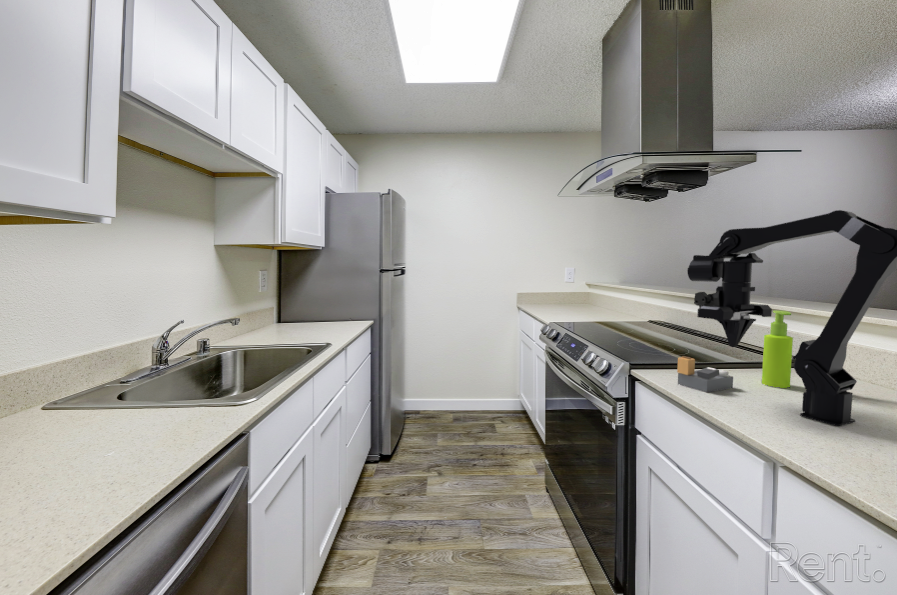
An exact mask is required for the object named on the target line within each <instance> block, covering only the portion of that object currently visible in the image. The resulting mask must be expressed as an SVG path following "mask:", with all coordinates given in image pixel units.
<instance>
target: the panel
mask: <svg viewBox="0 0 897 595" xmlns="http://www.w3.org/2000/svg"><path fill="white" fill-rule="evenodd" d="M699 370H700V369H698V370H695V371H694V374H692V375H686V374H682V373H678V372H677V385H679V384H680V386H684V387H685V388H686V387H687V388H691V389H694V390H697V391H700V392H704V393H709V392H711V393H712V392H717V391H721V390H728V389H733V388H734V376H732V375H729V371H727V370H722V369H718V370H719V375H718V376H716V377H713V378H711V379H706V378H702V377H698V376H697V371H699Z"/></svg>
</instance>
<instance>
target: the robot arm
mask: <svg viewBox="0 0 897 595" xmlns="http://www.w3.org/2000/svg"><path fill="white" fill-rule="evenodd" d="M831 233H837V234H839V235H840V236H842V237H844V238H845V239H847V240H848V241H851V242H852V243H853V244H856V245H857V246H859V247H858V252H857V254H856V257H855V258H856V259H855V261H856V263H855V269H854V270H855V271H854V274H853V276H852V277H851V279H850V280H849V283H848V284H847V287H846V288H845V290H844V292H843V294H842V295H841V298H840V299H839V301H838V302H837V304H836V306H835V308H834V310H833V312H832V313H831V314H830V316H829V318H828V320H827V322H826V324H825V325H824V327H823V329H822V331H821V333H820V335H819V336H817V338H815V339H810V340H806V341H805V340H804V341H801V344H800V345H799V348H798V351H797V353H796V354H795V355H794V356H792V360H794V361H793V369H794V371H795V373H796V374H797V375H798V377H799V378H801V381H802V383H803V384H802V385H803V386H804V389H805V392H803V393H802V405H801V406H802V408H801V411H802V412H800V413H799V416H800V417H802V418H803V417H804V418H806V419H810V420H814V421H817V422H822V423H825V424H828V425H831V426H834V427H836V426H837V427H842V426H845V425H849V424H853V423H855V422H856V419H855V418H852V408H853V407H852V406H853V405H852V404H853V392H850V391H852V390H853V388H854V387H855V386H856V385H857V384H856V383H857V381H858V380H856V378H854V377H853V376H852V375H851V374H850V373H849V372H848V371H847V370H846V369H845V368H844V364H845V361H846V359H847V348H848V347H847V346H848V343H849V342H850V339H851V338H852V336H853V335H854V333H855V332H856V330H857V328H858V327H859V325H860V323H861V322H862V320H863V318H864V316H865V315H866V313H867V311H868V309H869V307H870V306H871V305H872V303H873V302H874V299H875V298H876V297H877V295H878V293H879V291H880V290H881V288H882V286H883V284H884V283H885V281H886V280H887V279H888V278H889V277H890V276H891V275H893V273H894V272H896V271H897V228H893V227H885V226H882V225H879V224H878V223H876V222H873V221H870V220H867V219H865V218H863V217H860V216H858V215H856V214H855V213H854V212H853V211H848V210H847V211H846V210H843V209H842V210H841V209H839V210H833V211H831V212H828V213H824V214H820V215H816V216H811V217H807V218H806V217H805V218H801V219H797V220H793V221H789V222H783V223H779V224H776V225H775V224H774V225H770V226H769V225H768V226H765V227H748V228H747V227H745V228H732V229H728V230H726V231H724V232H723V233H722V235H721V236H720V238H719V242H718V243H717V245H716V246H715V247H714V248H713V250H711V252H710V253H709V254H708V255H702V254H700V255H699V254H694V255H693V257H692V258H693V259H692V260H691V261H690V263H689V265H688V267H687V276H688V279H689V280H690V281H691V282H707V283H709V282H712V283H713V282H714V283H716V282H718V281H719V282H720V279H721V286H719V285H718V286H716V288H715V292H713V293H707V292H705V291H699V292H696V293H694V299H693V302H694V303H693V304H694V305H696V306H697V307H698V308H697V314H696V315H697V318H701V319H710V320H713V321H717V322H718V323H719V324H720V325H721V326H722V328H723V330H724V333H725V337H726V339H727V342H728V345H729V347H730V348H736V347H737V346H738V345H739V344H740V342H741V340H742V339H743V338H744V336H745V334H747V332H748V330H749V329H750V327H751V326H752V325H753V323H755V322H757V319H756V318H752V317H751V315H753V316H760V317H762V318H770V317H772V313H773V311H772V310H773V309H772V307H770V306H769V305H768V304H761V303H760V304H758V303H751V292H755V291H756V287H755V286H752V273H753V272H752V270H753V269H752V268H753V264H763V263H764V260H763V259H761V258H760V257H759V256H758V255H757V254H756V253H755V252H756V251H759V250H762V249H765V248H767V247H768V246H772V245H774V244H780V243H785V242H789V241H795V240H800V239H805V238H810V237H817V236H822V235H827V234H831ZM741 255H742V256H741ZM743 255H746V256H743ZM725 259H729V260H725Z"/></svg>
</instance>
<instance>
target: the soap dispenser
mask: <svg viewBox="0 0 897 595" xmlns="http://www.w3.org/2000/svg"><path fill="white" fill-rule="evenodd" d="M772 313H774V314H775V318H774V321H773V322H771V323H770V332H769V334H764V336H763V353H762V354H763V355H762V370H761V371H762V373H761V384H762V385H763V384H765V385H764V386H766V385H768V386H767V387H770V386H773V387H772V388H776V387H780V388H779V389H788V388H787V387H790V388H791V374H792V360H793V359H792V357H793V342H794V341H793V340H794V338H793V336H791V335H790V336H789V335H788V323H786V322H785V321H784V316H792V312H789V311H787V310H773V311H772Z"/></svg>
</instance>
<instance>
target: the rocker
mask: <svg viewBox="0 0 897 595" xmlns="http://www.w3.org/2000/svg"><path fill="white" fill-rule="evenodd" d="M698 370H699V371H697V370H696V371H697V376H698V377H702V378H706V379H711V378H713V377H716V376H718V375H719V370H720V369H717V368H713V367H708V366H707V367H705V368H702V369H698Z"/></svg>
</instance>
